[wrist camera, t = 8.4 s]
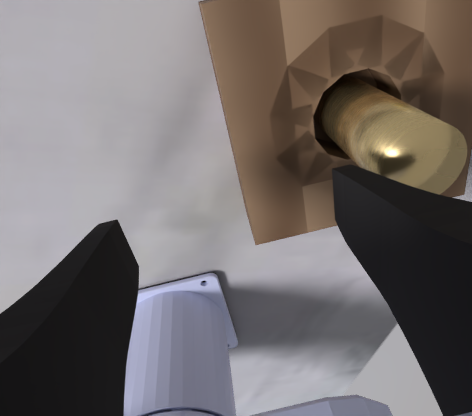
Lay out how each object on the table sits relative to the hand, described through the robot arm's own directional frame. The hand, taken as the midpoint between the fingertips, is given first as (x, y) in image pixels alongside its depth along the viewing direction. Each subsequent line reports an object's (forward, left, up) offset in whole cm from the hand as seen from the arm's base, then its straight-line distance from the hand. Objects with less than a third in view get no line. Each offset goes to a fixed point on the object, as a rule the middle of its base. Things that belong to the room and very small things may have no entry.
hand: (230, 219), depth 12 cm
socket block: (+7, 0, -9) cm, 12 cm away
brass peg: (+7, 0, -8) cm, 11 cm away
